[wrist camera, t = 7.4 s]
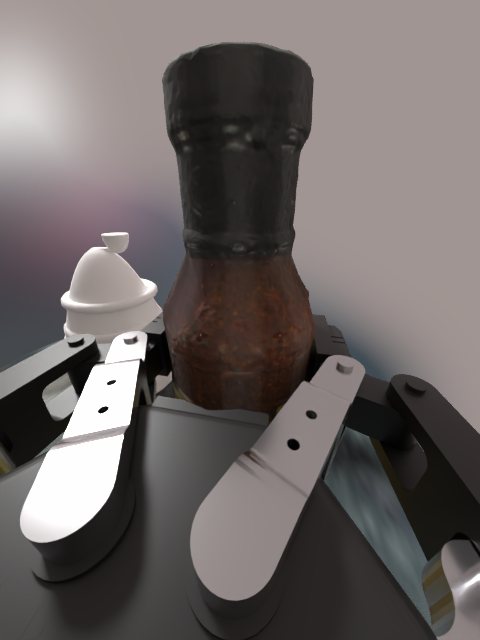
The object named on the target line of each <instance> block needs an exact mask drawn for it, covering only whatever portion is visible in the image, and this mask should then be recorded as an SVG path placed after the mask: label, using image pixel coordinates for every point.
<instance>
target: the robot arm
mask: <svg viewBox="0 0 480 640" xmlns="http://www.w3.org/2000/svg"><path fill="white" fill-rule="evenodd" d="M312 316H313V319H314V339H313V342H312V346H311V352H310V357H309V365H308V367H309V380H308V382H307V381H303V382H302V383H301V384H300V386H299V387H298V388H297V390H296V391H295V392H294V393H293V395H292V396H291V397H290V399H289V400H288V401H287V403H286V404H285V405H284V406H283V408H282V409H281V410H280V412H279V413H278V414H277V416H276V417H275V418H274V419H273V421H272V422H271V423H270V424H268V423H267V421H268V414H265V413H259V412H253V411H247V410H241V409H233V410H206V409H203V408H201V407H199V406H196V405H194V404H192V403H189V402H187V401H185V400H181V399H175V398H169V397H163V396H157V398H156V386H157V384H156V377H157V376H158V375H161V376H167V377H168V375H169V374H170V372H171V371H172V360H171V357H170V352H169V346H168V342H167V337H166V332H165V327H164V323H163V312H162V313H161V314H159V315H158V316H157V317H156V318H155V319H154V320H152V322H150V323H149V324H148V325H147V326H146V327H144V328H143V329H142V330H141V331H131V332H126V333H123V334H121V335H119V336H117V337H116V338H115V339H114V340H113V343H109V344H97V342H96V339H95V336H93V335H91V334H79V335H74V336H71V337H68V338H66V339H64V340H62V341H60V342H58V343H56V344H54V345H52V346H50V347H49V348H47V349H45V350H43V351H41V352H39V353H37V354H35V355H33V356H31V357H30V358H28V359H26V360H24V361H22V362H20V363H18V364H16V365H14V366H12V367H11V368H9V369H7V370H5V371H3V372H1V373H0V640H480V434H479V433H478V432H477V431H476V430H475V429H474V428H473V427H472V426H471V425H470V424H469V423H468V422H467V421H466V420H465V419H464V418H463V417H462V416H461V415H460V413H459V412H458V411H457V410H456V409H455V408H454V407H453V406H452V405H451V404H450V403H449V402H448V401H447V400H446V399H445V398H444V397H443V396H442V395H441V394H440V393H439V392H438V390H437V389H436V388H435V387H433V386H432V385H431V384H429V383H428V382H426V381H424V380H422V379H420V378H417V377H414V376H411V375H405V374H399V375H395V376H393V377H392V379H391V381H390V383H389V382H386V381H383V380H380V379H377V378H374V377H371V376H369V375H367V374H365V368H364V367H363V365H362V364H361V363H359V362H358V361H356V360H355V359H353V358H351V355H350V353H349V350H348V348H347V345H346V344H345V340H344V339H343V335H342V333H341V331H340V330H339V329H337V328H336V327H335V326H330V325H327V322H326V318H325V316H324V315H314V314H312ZM65 373H68V375H69V378H70V380H71V383H72V385H71V386H70V387H69V388H67V389H66V390H65V391H63V392H62V393H60V394H59V395H58V396H56V397H55V398H54V399H52V400H51V401H49V402H48V403H47V404H45V403H44V401H43V399H42V393H43V390H44V389H45V387H46V386H47V385H49V384H50V383H52V382H53V381H55V380H56V379H58V378H59V377H61V376H62V375H64V374H65ZM346 427H348V428H351V429H353V430H355V431H358V432H360V433H362V434H365V435H367V436H369V438H370V441H371V443H372V445H373V447H374V449H375V451H376V453H377V455H378V457H379V460H380V462H381V464H382V466H383V468H384V470H385V472H386V474H387V476H388V478H389V481H390V483H391V485H392V487H393V489H394V491H395V493H396V495H397V497H398V500H399V502H400V504H401V506H402V508H403V510H404V512H405V514H406V516H407V519H408V521H409V523H410V525H411V527H412V529H413V531H414V533H415V535H416V538H417V540H418V542H419V544H420V546H421V548H422V550H423V552H424V554H425V557H426V559H427V561H428V562H427V564H426V565H425V566H424V568H423V571H422V586H423V591H424V594H425V597H426V600H427V603H428V606H429V610H430V615H431V624H432V627H431V628H430V626H429V625H428V623H427V622H426V620H425V619H424V618H423V616H422V615H421V613H420V612H419V611H418V609H417V608H416V607H415V605H414V604H413V602H412V601H411V600H410V598H409V597H408V596H407V594H406V593H405V591H404V590H403V589H402V587H401V586H400V585H399V583H398V582H397V581H396V579H395V578H394V576H393V575H392V574H391V572H390V571H389V570H388V568H387V567H386V565H385V564H384V563H383V561H382V560H381V559H380V557H379V556H378V555H377V553H376V552H375V550H374V549H373V548H372V546H371V545H370V544H369V542H368V541H367V539H366V538H365V537H364V535H363V534H362V533H361V531H360V530H359V528H358V527H357V526H356V524H355V523H354V522H353V520H352V519H351V518H350V516H349V515H348V513H347V512H346V511H345V509H344V508H343V507H342V505H341V504H340V502H339V501H338V500H337V498H336V497H335V496H334V494H333V493H332V492H331V490H330V489H329V487H328V486H327V485H326V483H325V480H326V477H327V475H328V472H329V469H330V467H331V464H332V461H333V459H334V456H335V454H336V452H337V449H338V447H339V444H340V442H341V439H342V437H343V435H344V432H345V430H346ZM66 429H67V430H66ZM65 430H66V433H65V435H64V437H63V439H62V440H61V441H60V442H59V443H56V444H55V445H54V446H53V447H52V448H51V449H50V450H49V451H47V452H45V453H44V454H42V455H40V456H38V457H36V458H34V457H35V456H37V455H38V454H39V453H40V452H41V451H42V450H43V449H44V448H46V447H47V446H48V445H49V444H50V443H51V442H52V441H54V440H55V439H56V438H57V437H58V436H59V435H60V434H61V433H63V432H64V431H65ZM417 441H418V442H417ZM418 443H419V444H420V445H419V444H418ZM420 446H421V447H422V448H421V447H420ZM422 449H423V450H422ZM33 458H34V459H33Z"/></svg>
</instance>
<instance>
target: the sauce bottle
mask: <svg viewBox="0 0 480 640" xmlns="http://www.w3.org/2000/svg"><path fill="white" fill-rule="evenodd" d="M162 83H163V92H164V106H165V114H166V126H167V133H168V137H169V139H170V141H171V143H172V145H173V148H174V149H175V152H176V157H177V163H178V170H179V180H180V191H181V200H182V208H183V219H184V229H183V241H184V245H185V248H186V253H185V256H184V258H183V261H182V264H181V266H180V269H179V271H178V274H177V276H176V279H175V281H174V283H173V286H172V288H171V290H170V293H169V295H168V298H167V300H166V302H165V304H164V310H163V323H164V327H165V332H166V337H167V342H168V346H169V352H170V357H171V360H172V381H173V386H174V391H175V397H176V399H181V400H185V401H187V402H189V403H192V404H194V405H196V406H199V407H201V408H203V409H206V410H233V409H241V410H247V411H253V412H259V413H265V414H268V421H267V423H268V424H270V423H271V422H272V421H273V419H274V418H275V417H276V416H277V414H278V413H279V412H280V410H281V409H282V408H283V406H284V405H285V404H286V403H287V401H288V400H289V399H290V397H291V396H292V395H293V393H294V392H295V391H296V390H297V388H298V387H299V386H300V384H301V383H302V382H303V381H307V382H308V380H309V367H308V365H309V357H310V352H311V346H312V342H313V339H314V319H313V316H312V312H311V308H310V304H309V300H308V297H309V292H308V290H307V289H306V288H305V285H304V284H303V282H302V280H301V278H300V276H299V275H298V272H297V269H296V267H295V264H294V261H293V259H292V256H291V254H292V253H291V252H292V247H293V242H294V239H295V230H294V228H293V221H294V213H295V200H296V187H297V180H298V165H299V157H300V152H301V149H302V148H303V146H304V143H305V142H306V140H307V139H308V137H309V134H310V131H311V122H312V97H313V77H312V73H311V68H310V67H309V65H308V63H306V62H305V61H304V60H303V59H302V58H301V57H300V56H298V55H297V54H295V53H293V52H291V51H289V50H282V49H279V48H276V47H274V46H270V45H267V44H262V43H253V42H222V43H214V44H210V45H206V46H202V47H199V48H197V49H194V50H192V51H189V52H186V53H183V54H181V55H180V56H178V57H177V58H175V59H174V60H172V61H171V62H170V63H169V65H168V66H167V68H166V70H165V72H164V76H163V79H162Z"/></svg>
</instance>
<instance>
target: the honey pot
mask: <svg viewBox="0 0 480 640" xmlns="http://www.w3.org/2000/svg"><path fill="white" fill-rule="evenodd" d="M101 236H102V239H103V241H104V243H105V244H106V246H107V247H95V248H91V249H90V250H89V251H87V252H86V253H85V254H84V255H83V257H82V258H81V260H80V261H79V263H78V265H77V267H76V270H75V272H74V275H73V279H72V283H71V287H70V291H68V292H66V293H65V294H64V295H63V296H62V298H61V305H62V306H63V307H64V308H65V309H67V320H66V323H65V325H64V333H65V337H64V339H66V338H68V337H71V336H74V335H79V334H91V335H93V336H95V339H96V342H97V344H109V343H113V340H114V339H115V338H116V337H117V336H119V335H121V334H123V333H126V332H131V331H141V330H142V329H143V328H144V327H146V326H147V325H148V324H149V323H150V322H152V320H154V319H155V318H156V317H157V316H158V315H159V314H161V313H162V309H161V307H160V306H159V305H158V304H157V303H156V301H155V300H154V298H153V297H154V296H155V295H156V293H157V286H156V285H155V284H154V283H153V282H151V281H148V280H145V279H141V278H140V277H139V276H138V275H137V273H136V272H135V271H134V270H133V268H132V267H131V266H130V265H129V264H128V263H127V262H126V261H125V260H124V259H123V258H122V257H120V256H119V255H118V254H117V253H121V252H123V251H125V250H126V248H127V246H128V242H129V235H128V233H105V234H101ZM147 288H148V289H147ZM171 381H172V371H171V372H170V374H169V375H168V377H167V376H161V375H158V376H157V377H156V384H157V386H156V393H158V392H159V391H161V390H162V389H164V388H165V387H166V386H167V385H168V384H169V383H170V382H171Z"/></svg>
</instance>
